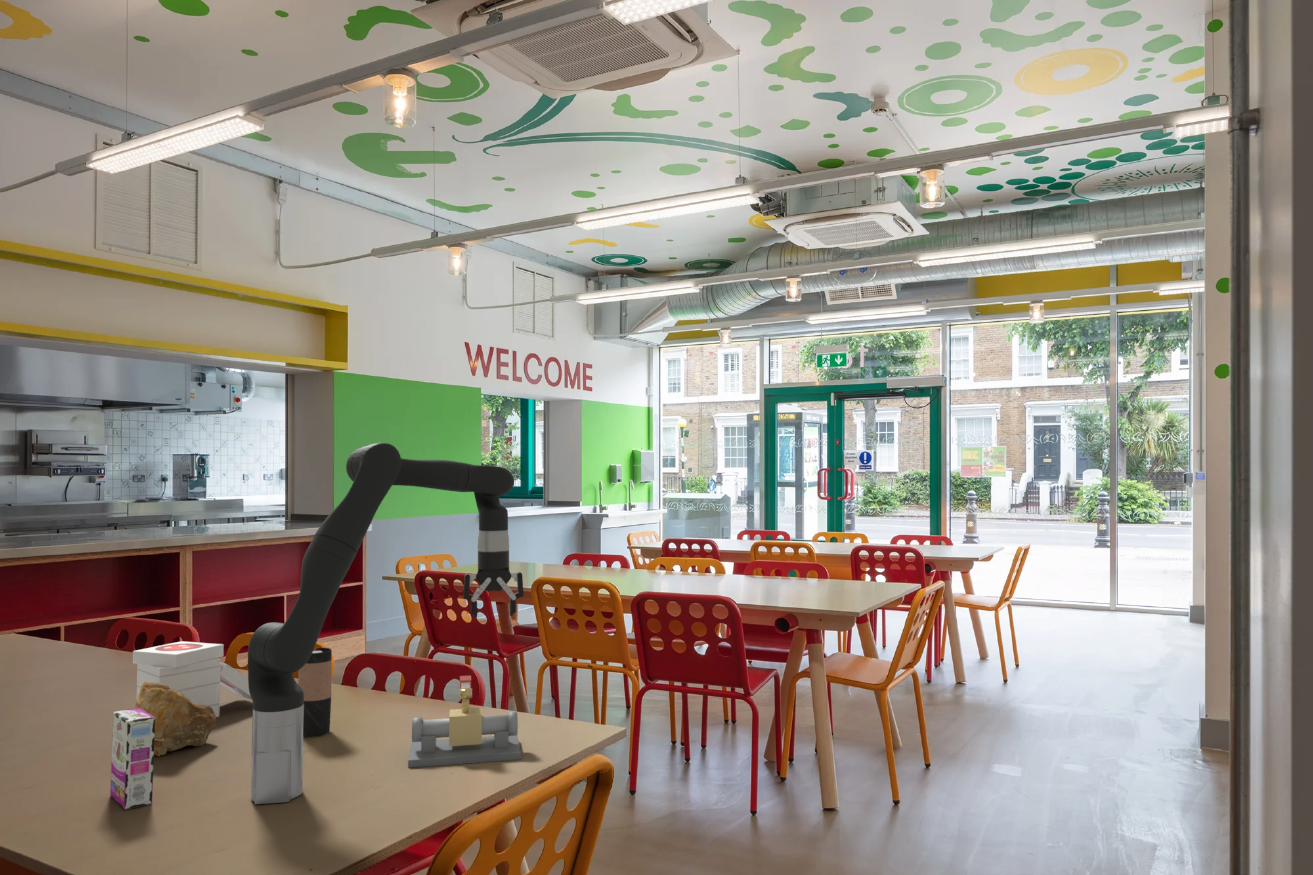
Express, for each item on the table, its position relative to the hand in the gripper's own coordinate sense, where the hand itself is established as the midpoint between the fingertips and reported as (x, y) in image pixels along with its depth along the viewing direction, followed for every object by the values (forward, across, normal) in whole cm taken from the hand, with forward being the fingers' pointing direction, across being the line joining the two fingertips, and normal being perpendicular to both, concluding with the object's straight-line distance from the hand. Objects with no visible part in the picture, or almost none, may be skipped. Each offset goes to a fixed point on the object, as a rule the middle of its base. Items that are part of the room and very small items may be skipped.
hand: (493, 616), depth 213 cm
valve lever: (+16, -7, -6) cm, 19 cm away
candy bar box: (+28, -70, -27) cm, 80 cm away
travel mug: (+29, -43, +13) cm, 53 cm away
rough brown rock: (+28, -73, +9) cm, 79 cm away
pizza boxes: (+28, -75, +40) cm, 90 cm away
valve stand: (+28, -7, -13) cm, 32 cm away
